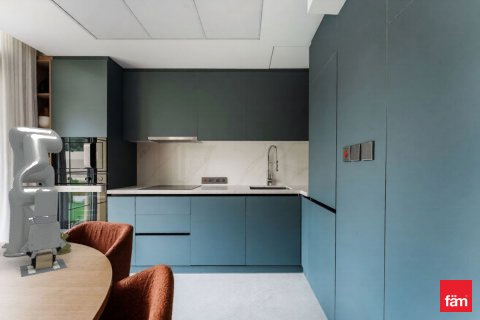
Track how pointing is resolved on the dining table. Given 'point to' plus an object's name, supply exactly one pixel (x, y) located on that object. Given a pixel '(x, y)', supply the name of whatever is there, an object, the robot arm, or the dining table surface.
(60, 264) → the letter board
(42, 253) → the oak block
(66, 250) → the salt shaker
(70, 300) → the dining table surface
